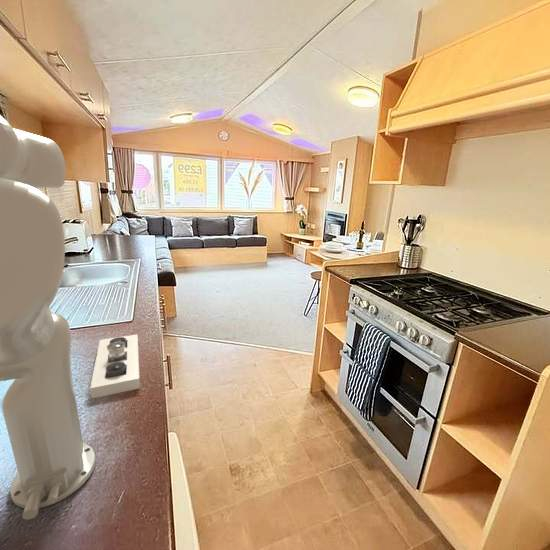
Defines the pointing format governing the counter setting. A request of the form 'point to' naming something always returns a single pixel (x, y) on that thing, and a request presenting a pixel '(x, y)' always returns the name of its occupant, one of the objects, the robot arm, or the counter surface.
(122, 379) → the panel
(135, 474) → the counter surface
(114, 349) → the knob middle
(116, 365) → the knob near
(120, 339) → the knob far
